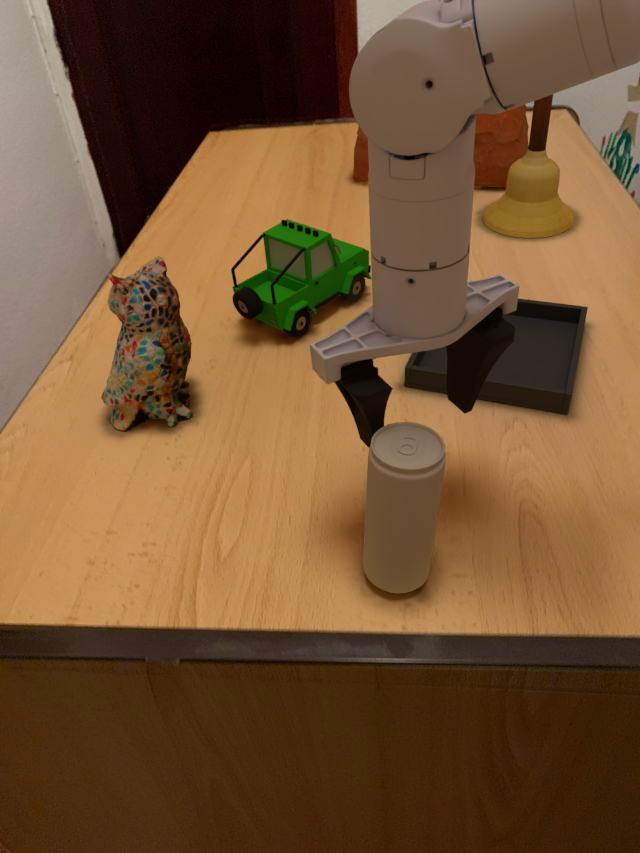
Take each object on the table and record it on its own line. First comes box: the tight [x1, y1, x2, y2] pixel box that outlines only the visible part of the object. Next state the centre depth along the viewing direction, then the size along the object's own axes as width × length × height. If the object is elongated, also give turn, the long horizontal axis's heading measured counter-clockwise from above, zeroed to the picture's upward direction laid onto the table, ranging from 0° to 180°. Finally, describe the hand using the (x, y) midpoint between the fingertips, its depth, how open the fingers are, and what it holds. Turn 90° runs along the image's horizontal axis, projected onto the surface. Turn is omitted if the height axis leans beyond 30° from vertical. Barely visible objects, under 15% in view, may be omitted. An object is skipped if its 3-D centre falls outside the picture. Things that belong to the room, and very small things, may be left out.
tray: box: [404, 298, 589, 415], centre depth 66 cm, size 15×15×2 cm
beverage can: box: [362, 421, 447, 594], centre depth 44 cm, size 5×5×12 cm
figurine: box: [100, 255, 194, 432], centre depth 60 cm, size 9×9×15 cm
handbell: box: [481, 94, 576, 239], centre depth 82 cm, size 12×12×25 cm
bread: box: [352, 104, 530, 188], centre depth 102 cm, size 16×27×11 cm, turn 72°
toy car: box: [230, 218, 372, 338], centre depth 73 cm, size 8×17×10 cm, turn 137°
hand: (416, 423), depth 47 cm, fingers open, 7 cm apart
